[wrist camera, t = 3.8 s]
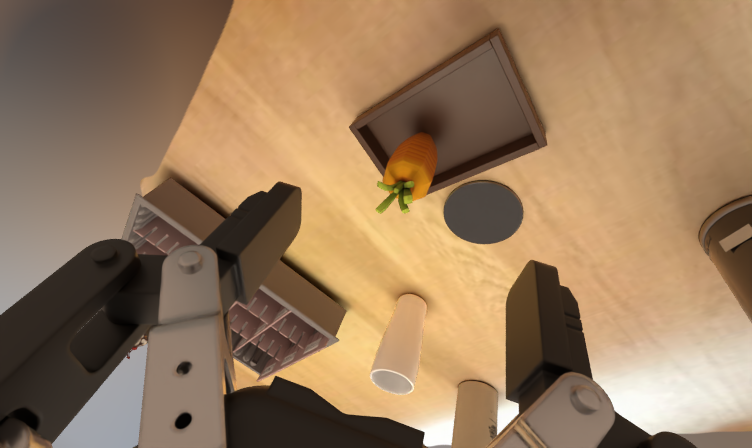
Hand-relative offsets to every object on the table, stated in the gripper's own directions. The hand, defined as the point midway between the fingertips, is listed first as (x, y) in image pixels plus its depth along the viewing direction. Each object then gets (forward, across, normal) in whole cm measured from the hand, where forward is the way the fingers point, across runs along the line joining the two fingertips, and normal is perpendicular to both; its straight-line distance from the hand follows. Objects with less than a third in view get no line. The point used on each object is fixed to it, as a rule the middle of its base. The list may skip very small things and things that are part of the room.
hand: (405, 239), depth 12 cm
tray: (+30, 0, +8) cm, 31 cm away
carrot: (+30, +2, +10) cm, 32 cm away
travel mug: (+30, -22, +62) cm, 73 cm away
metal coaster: (+30, -8, +19) cm, 36 cm away
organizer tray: (+31, +32, +52) cm, 68 cm away
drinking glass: (+30, -4, +41) cm, 52 cm away
